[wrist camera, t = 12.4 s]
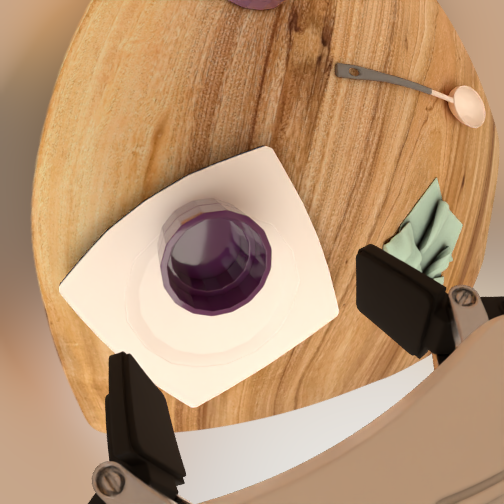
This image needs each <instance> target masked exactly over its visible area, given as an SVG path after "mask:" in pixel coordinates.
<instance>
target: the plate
mask: <svg viewBox="0 0 504 504" xmlns="http://www.w3.org/2000/svg"><path fill="white" fill-rule="evenodd" d="M208 198H212V199H213V198H215V199H218V200H221V201H225V202H228V203H230V204H232V205H234V206H235V207H236V208H238V209H239V210H241V211H242V212H243V213H245V214H246V215H247V216H249V217H250V218H251V219H252V220H253V221H254V222H256V223H257V224H258V225H259V226H260V227H261V228H262V229H263V230H264V231H265V233H266V236H267V238H268V241H269V243H270V245H271V249H272V260H271V270H270V273H269V275H268V277H267V280H266V282H265V285H264V286H263V288H262V289H261V290H260V291H259V292H258V294H257V295H256V296H255V297H254V298H253V299H252V300H251V301H250V302H249V303H247V304H246V305H244V306H242V307H241V308H239V309H237V310H235V311H234V312H231V313H226V314H222V315H217V316H206V315H199V314H193V313H191V312H189V311H187V310H185V309H184V308H182V307H180V306H178V305H177V304H176V303H175V302H174V301H173V300H172V298H171V297H170V296H169V294H168V293H167V291H166V290H165V289H164V286H163V281H162V275H161V269H160V263H159V256H158V249H157V243H158V239H159V235H160V232H161V228H162V226H163V224H164V223H165V222H166V221H167V219H168V218H169V217H170V216H171V214H172V213H173V212H174V211H175V210H176V209H178V208H180V207H181V206H183V205H185V204H187V203H189V202H190V201H194V200H199V199H208ZM59 293H60V294H61V295H62V296H63V298H64V299H65V300H66V301H67V303H68V304H69V305H70V306H71V307H72V308H73V310H74V311H75V312H76V313H77V314H78V315H79V317H80V318H81V319H82V320H83V321H84V322H85V323H86V324H87V326H88V327H89V328H90V329H91V330H92V331H93V332H94V333H95V334H96V335H97V336H98V337H99V338H100V339H101V340H102V341H103V342H104V343H105V344H106V345H107V346H108V347H109V348H110V349H111V350H112V351H113V352H114V353H115V354H117V353H120V352H122V351H124V352H125V353H126V354H129V353H130V354H131V355H132V356H133V357H134V359H135V360H136V361H137V363H138V364H139V365H140V366H141V368H142V369H143V370H144V372H145V373H146V374H147V375H148V377H149V378H150V379H151V380H152V382H153V383H154V384H155V385H156V386H158V387H159V388H161V389H162V390H164V391H166V392H167V393H169V394H170V395H172V396H173V397H175V398H177V399H178V400H180V401H181V402H183V403H185V404H186V405H188V406H190V407H197V406H199V405H201V404H203V403H205V402H207V401H208V400H210V399H212V398H214V397H215V396H217V395H219V394H221V393H222V392H224V391H226V390H227V389H229V388H231V387H232V386H234V385H236V384H237V383H239V382H241V381H242V380H244V379H246V378H247V377H249V376H251V375H252V374H254V373H255V372H257V371H259V370H260V369H262V368H263V367H265V366H267V365H268V364H270V363H271V362H273V361H274V360H276V359H277V358H279V357H280V356H282V355H283V354H285V353H286V352H287V351H289V350H290V349H292V348H293V347H295V346H296V345H298V344H299V343H301V342H302V341H303V340H305V339H306V338H308V337H309V336H310V335H312V334H313V333H315V332H316V331H317V330H319V329H320V328H322V327H323V326H324V325H326V324H327V323H328V322H330V321H331V320H332V319H334V318H335V317H336V316H337V315H338V313H339V309H338V305H337V300H336V296H335V292H334V288H333V284H332V280H331V276H330V273H329V269H328V266H327V263H326V259H325V256H324V253H323V250H322V247H321V245H320V242H319V239H318V236H317V234H316V231H315V229H314V227H313V225H312V222H311V220H310V218H309V215H308V213H307V211H306V209H305V207H304V204H303V202H302V201H301V199H300V197H299V195H298V193H297V191H296V189H295V188H294V186H293V184H292V182H291V180H290V179H289V177H288V175H287V173H286V171H285V170H284V168H283V166H282V164H281V163H280V161H279V159H278V157H277V156H276V154H275V152H274V151H273V149H272V148H270V147H267V146H260V147H257V148H254V149H252V150H249V151H246V152H243V153H241V154H238V155H235V156H233V157H230V158H227V159H225V160H222V161H220V162H217V163H214V164H212V165H209V166H207V167H205V168H202V169H200V170H197V171H195V172H193V173H190V174H188V175H186V176H184V177H183V178H181V179H179V180H177V181H176V182H174V183H172V184H171V185H169V186H167V187H166V188H164V189H162V190H161V191H159V192H157V193H156V194H154V195H153V196H151V197H149V198H148V199H146V200H145V201H143V202H142V203H141V204H139V205H138V206H137V207H135V208H134V209H133V210H131V211H130V212H129V213H128V214H126V215H125V216H124V217H123V218H121V219H120V220H119V221H118V222H116V223H115V224H114V225H113V226H111V227H110V228H109V229H108V230H107V231H106V232H105V233H104V234H103V235H102V236H101V237H100V238H99V239H98V240H97V241H96V242H95V244H94V245H93V246H92V247H91V248H90V249H89V250H88V251H87V252H86V253H85V255H84V256H83V257H82V258H81V259H80V260H79V261H78V263H77V264H76V265H75V266H74V267H73V268H72V270H71V271H70V272H69V273H68V274H67V276H66V277H65V278H64V279H63V281H62V282H61V283H60V285H59Z"/></svg>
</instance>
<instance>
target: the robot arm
mask: <svg viewBox="0 0 504 504" xmlns="http://www.w3.org/2000/svg"><path fill="white" fill-rule="evenodd" d="M445 291H446V287H445V286H443V285H442V284H440V283H438V282H437V281H435V280H434V279H432V278H430V277H429V276H427V275H425V274H424V273H422V272H420V271H419V270H417V269H415V268H413V267H412V266H410V265H408V264H407V263H405V262H403V261H401V260H400V259H398V258H396V257H394V256H393V255H391V254H389V253H387V252H386V251H384V250H382V249H380V248H378V247H377V246H375V245H373V244H369V245H367V246H365V247H363V248H361V249H359V251H358V254H357V255H356V305H357V308H358V310H359V311H360V312H361V313H362V314H364V315H365V316H366V317H367V318H368V319H370V320H371V321H372V322H373V323H374V324H375V325H377V326H378V327H379V328H380V329H381V330H383V331H384V332H385V333H386V334H387V335H388V336H390V337H391V338H392V339H393V340H394V341H395V342H397V343H398V344H399V345H400V346H401V347H402V348H403V349H405V350H406V351H407V352H408V353H409V354H411V355H415V356H417V357H418V358H419V359H420V358H421V357H422V356H424V355H425V354H426V353H427V352H428V350H430V351H431V352H432V357H433V364H434V371H433V372H432V373H431V374H430V375H429V376H428V377H427V378H426V379H425V380H423V382H421V383H420V384H419V385H418V386H417V387H415V388H414V389H413V390H412V391H411V392H410V393H408V394H407V395H406V396H405V397H403V398H402V399H401V400H400V401H399V402H397V403H396V404H395V405H394V406H392V407H391V408H390V409H388V410H387V411H386V412H384V413H383V414H382V415H380V416H379V417H377V418H376V419H375V420H373V421H372V422H371V423H369V424H368V425H366V426H365V427H363V428H362V429H360V430H359V431H357V432H356V433H354V434H353V435H351V436H349V437H348V438H346V439H345V440H343V441H342V442H340V443H338V444H336V445H335V446H333V447H331V448H330V449H328V450H326V451H324V452H323V453H321V454H319V455H317V456H315V457H314V458H311V459H310V460H308V461H306V462H304V463H302V464H300V465H298V466H296V467H294V468H292V469H290V470H287V471H285V472H283V473H281V474H279V475H277V476H274V477H272V478H270V479H267V480H265V481H262V482H260V483H257V484H255V485H252V486H249V487H247V488H244V489H241V490H239V491H236V492H233V493H230V494H227V495H224V496H221V497H218V498H215V499H212V500H209V501H205V502H202V503H199V504H504V297H480V296H479V294H478V293H477V291H475V290H474V289H473V288H471V287H469V286H466V285H456V286H454V287H452V288H451V289H450V290H449V293H448V294H447V293H446V292H445ZM105 412H106V430H107V442H108V452H109V461H107V462H104V463H102V464H100V465H99V466H97V468H96V469H95V471H94V472H93V476H92V485H93V488H94V490H95V492H96V493H95V495H94V496H93V498H92V499H91V500H90V502H89V503H88V504H192V503H191V502H189V501H188V500H186V499H184V498H183V497H181V496H179V495H178V490H177V487H176V486H178V485H182V484H184V480H183V477H185V476H186V472H185V469H184V466H183V462H182V459H181V456H180V453H179V449H178V445H177V442H176V438H175V434H174V431H173V427H172V423H171V419H170V415H169V411H168V406H167V402H166V399H165V397H164V395H163V394H162V392H161V391H160V390H159V389H158V388H157V386H156V385H155V384H154V383H153V382H152V380H151V379H150V378H149V377H148V375H147V374H146V373H145V372H144V370H143V369H142V368H141V366H140V365H139V364H138V363H137V361H136V360H135V359H134V357H133V356H132V355H131V354H130V353H129V354H126V353H125V352H124V351H122V352H120V353H117V354H114V355H111V356H110V357H109V394H108V395H107V396H106V398H105Z"/></svg>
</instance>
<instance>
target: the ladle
mask: <svg viewBox="0 0 504 504" xmlns="http://www.w3.org/2000/svg"><path fill="white" fill-rule="evenodd" d="M350 68H354V69H356V70H357V71H358V72H359V74H358V76H353V75H351V74H350V73H349V69H350ZM335 72H336V75H337V76H338V77H343V78H351V79H360V80H372V81H381V82H387V83H392V84H396V85H400V86H404V87H408V88H411V89H415V90H418V91H421V92H424V93H427V94H430V95H433V96H436V97H439V98H441V99H444V100H446V101H448V105H449V108H450V110H451V112H452V114H453V115H454V116H455V117H456V118H457V119H458V120H459V121H460V122H461V123H463V124H465V125H467V126H469V127H473V128H477V127H480V126H481V125H482V124H483V122H484V120H485V107H484V104H483V101H482V99H481V97H480V96H479V94H478V93H477V92H476V91H475V90H474V89H472V88H471V87H468V86H459V87H455V88H454V89H453V90H452V91H451V92H450V94H449V95H448V96H447V95H445V94H442V93H440V92H437V91H435V90H432V89H431V88H428V87H426V86H423V85H420V84H418V83H415V82H412V81H409V80H406V79H403V78H399V77H396V76H392V75H389V74H385V73H381V72H378V71H374V70H371V69H367V68H363V67H359V66H355V65H349V64H342V63H337V64H336V65H335Z"/></svg>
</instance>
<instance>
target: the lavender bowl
mask: <svg viewBox="0 0 504 504" xmlns="http://www.w3.org/2000/svg"><path fill="white" fill-rule="evenodd" d="M229 1H230V2H232V3H235V4H237V5H239V6H242V7H244V8H250V9H257V10H265V9H271V8H275V7H277V6H279V5H280V4H282V3H284V2H285V1H286V0H229Z"/></svg>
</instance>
